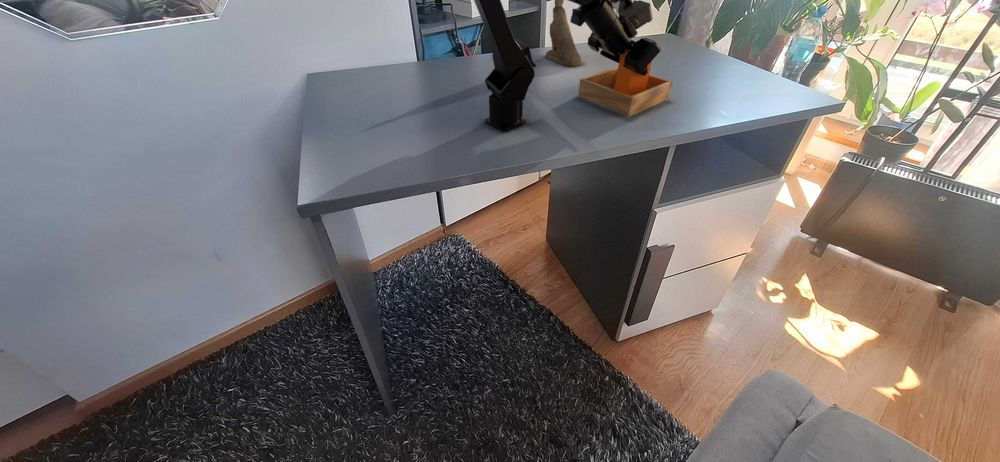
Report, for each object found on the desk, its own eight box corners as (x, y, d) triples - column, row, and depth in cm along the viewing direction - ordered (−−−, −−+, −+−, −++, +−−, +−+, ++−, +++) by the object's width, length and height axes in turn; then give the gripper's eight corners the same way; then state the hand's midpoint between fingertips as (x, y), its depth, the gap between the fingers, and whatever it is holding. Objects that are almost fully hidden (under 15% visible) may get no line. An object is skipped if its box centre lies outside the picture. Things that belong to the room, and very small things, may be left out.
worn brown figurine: (544, 65, 124) (540, -3, 115) (559, 62, 126) (556, -6, 117) (568, 68, 115) (565, -6, 106) (584, 64, 116) (582, -9, 108)
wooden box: (627, 119, 89) (632, 98, 86) (577, 99, 98) (580, 78, 95) (667, 102, 96) (672, 81, 93) (617, 84, 105) (620, 65, 102)
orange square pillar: (625, 101, 94) (635, 51, 87) (613, 93, 98) (621, 44, 91) (644, 98, 96) (655, 48, 89) (631, 90, 99) (640, 42, 92)
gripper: (664, -4, 75) (695, 52, 85) (607, -21, 88) (639, 30, 98) (620, 47, 77) (654, 95, 88) (570, 24, 91) (606, 68, 101)
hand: (638, 70), depth 93 cm, fingers closed on orange square pillar, 5 cm apart
